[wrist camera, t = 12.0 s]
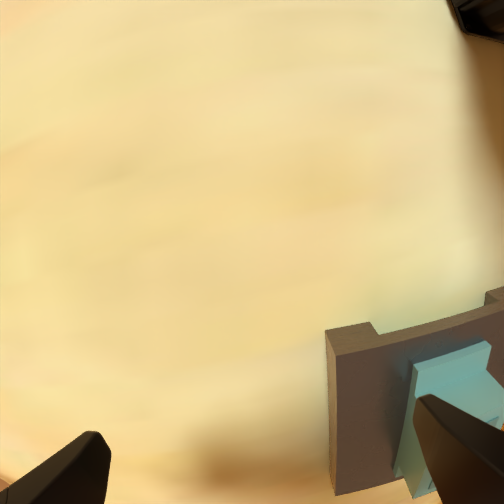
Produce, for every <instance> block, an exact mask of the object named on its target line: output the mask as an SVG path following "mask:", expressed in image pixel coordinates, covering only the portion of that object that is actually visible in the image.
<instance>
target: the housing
mask: <svg viewBox="0 0 504 504" xmlns="http://www.w3.org/2000/svg"><path fill="white" fill-rule="evenodd" d="M490 351H491V345H490V344H489V343H488V342H487V341H483V342H480V343H477V344H475V345H472V346H469V347H466V348H464V349H461V350H458V351H455V352H452V353H449V354H446V355H443V356H440V357H436V358H433V359H430V360H427V361H423V362H420V363H416V364H413V370H412V378H411V385H410V391H409V398H408V404H407V409H406V415H405V420H404V425H403V430H402V435H401V440H400V444H399V448H398V453H397V457H396V461H395V465H394V469H393V473H394V475H395V478H396V477H400V476H404V479H405V481H406V484H407V486H408V488H409V491H410V493H411V496H412V498H413V499H415V498H417V497H420V496H423V495H426V494H428V493H431V492H433V491H436V490H437V489H436V487H435V485H434V482H433V480H432V478H431V476H430V473H429V471H428V469H427V466H426V463H425V460H424V457H423V454H422V450H421V447H420V444H419V441H418V438H417V435H416V432H415V429H414V425H413V413H414V408H415V403H416V399H417V398H418V397H420V396H423V395H426V394H433V395H435V396H437V397H439V398H441V399H442V400H444V401H446V402H448V403H450V404H452V405H454V406H455V407H457V408H459V409H461V410H463V411H465V412H467V413H469V414H471V415H473V416H474V417H476V418H478V419H480V420H482V421H484V422H486V423H488V424H490V425H492V426H494V427H496V428H498V429H500V430H501V427H502V425H503V423H504V388H503V387H502V386H501V385H500V384H499V383H498V382H497V381H496V380H495V379H494V378H493V377H492V376H491V374H490V373H489V372H488V371H487V370H486V367H487V363H488V359H489V355H490Z"/></svg>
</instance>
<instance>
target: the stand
mask: <svg viewBox="0 0 504 504" xmlns="http://www.w3.org/2000/svg"><path fill="white" fill-rule="evenodd" d="M325 337H326V353H327V371H328V394H329V429H330V475H331V480H332V484H333V489H334V493H335V496H338V495H343V494H347V493H352V492H356V491H360V490H364V489H368V488H372V487H376V486H379V485H383V484H386V483H390V482H393V481H396V480H399V479H402V478H404V476H400V477H396V478H395V475H394V473H393V469H394V465H395V461H396V457H397V453H398V448H399V444H400V440H401V435H402V430H403V425H404V420H405V415H406V409H407V404H408V398H409V391H410V385H411V378H412V370H413V364H416V363H420V362H423V361H427V360H430V359H433V358H436V357H440V356H443V355H446V354H449V353H452V352H455V351H458V350H461V349H464V348H466V347H469V346H472V345H475V344H477V343H480V342H483V341H487V342H488V343H489V344H490V345H491V351H490V355H489V359H488V363H487V367H486V370H487V371H488V372H489V373H490V374H491V376H492V377H493V378H494V379H495V380H496V381H497V382H498V383H499V384H500V385H501V386H502V387H503V388H504V287H500V288H497V289H494V290H491V291H488V292H486V297H485V304H484V306H483V307H480V308H477V309H474V310H471V311H467V312H464V313H461V314H457V315H454V316H451V317H447V318H444V319H440V320H437V321H433V322H429V323H426V324H422V325H418V326H414V327H410V328H406V329H402V330H398V331H394V332H390V333H385V334H381V335H378V334H377V332H376V331H375V329H374V328H373V326H372V325H371V323H370V322H366V323H361V324H356V325H351V326H346V327H341V328H335V329H330V330H325Z"/></svg>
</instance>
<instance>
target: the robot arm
mask: <svg viewBox="0 0 504 504" xmlns="http://www.w3.org/2000/svg"><path fill="white" fill-rule="evenodd" d="M451 1H452V4H453V6H454V9H455V12H456V15H457V18H458V21H459V24H460V27H461V29H462V31H463V32H464V33H466V34H468V35H472V36H477V37H481V38H485V39H489V40H493V41H497V42H500V43H504V0H451ZM466 26H467V27H468V28H467V27H466ZM413 425H414V429H415V432H416V435H417V438H418V441H419V444H420V447H421V450H422V454H423V457H424V460H425V463H426V466H427V469H428V471H429V473H430V476H431V478H432V480H433V482H434V485H435V487H436V489H437V491H438V494H439V496H440V498H441V501H442V503H443V504H504V431H502V430H500V429H498V428H496V427H494V426H492V425H490V424H488V423H486V422H484V421H482V420H480V419H478V418H476V417H474V416H473V415H471V414H469V413H467V412H465V411H463V410H461V409H459V408H457V407H455V406H454V405H452V404H450V403H448V402H446V401H444V400H442V399H441V398H439V397H437V396H435V395H433V394H426V395H423V396H420V397H418V398H417V399H416V403H415V408H414V413H413ZM110 462H111V450H110V448H109V446H108V445H107V443H106V442H105V440H104V438H103V437H102V435H101V434H100V433H99V432H97V431H86V432H84V433H83V434H81V435H80V436H79V437H77V438H76V439H75V440H73V441H72V442H71V443H69V444H68V445H66V446H65V447H64V448H62V449H61V450H60V451H58V452H57V453H55V454H54V455H53V456H51V457H50V458H48V459H47V460H46V461H44V462H43V463H41V464H40V465H39V466H37V467H36V468H34V469H33V470H32V471H30V472H29V473H27V474H26V475H24V476H23V477H22V478H20V479H19V480H17V481H16V482H14V483H13V484H11V485H10V486H9V487H7V488H6V489H4V490H3V491H1V492H0V504H104V502H105V497H106V491H107V484H108V476H109V469H110Z"/></svg>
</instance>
